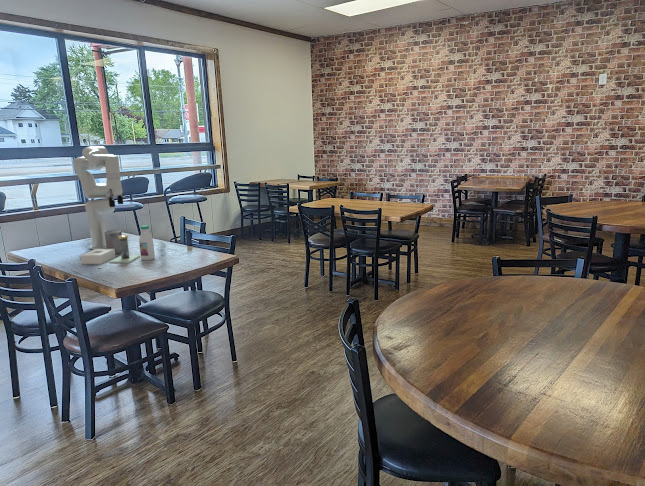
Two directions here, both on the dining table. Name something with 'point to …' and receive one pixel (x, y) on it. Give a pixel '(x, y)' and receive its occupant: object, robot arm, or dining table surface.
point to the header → (97, 256)
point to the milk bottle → (146, 244)
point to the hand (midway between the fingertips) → (116, 205)
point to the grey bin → (113, 240)
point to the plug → (124, 246)
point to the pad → (128, 260)
